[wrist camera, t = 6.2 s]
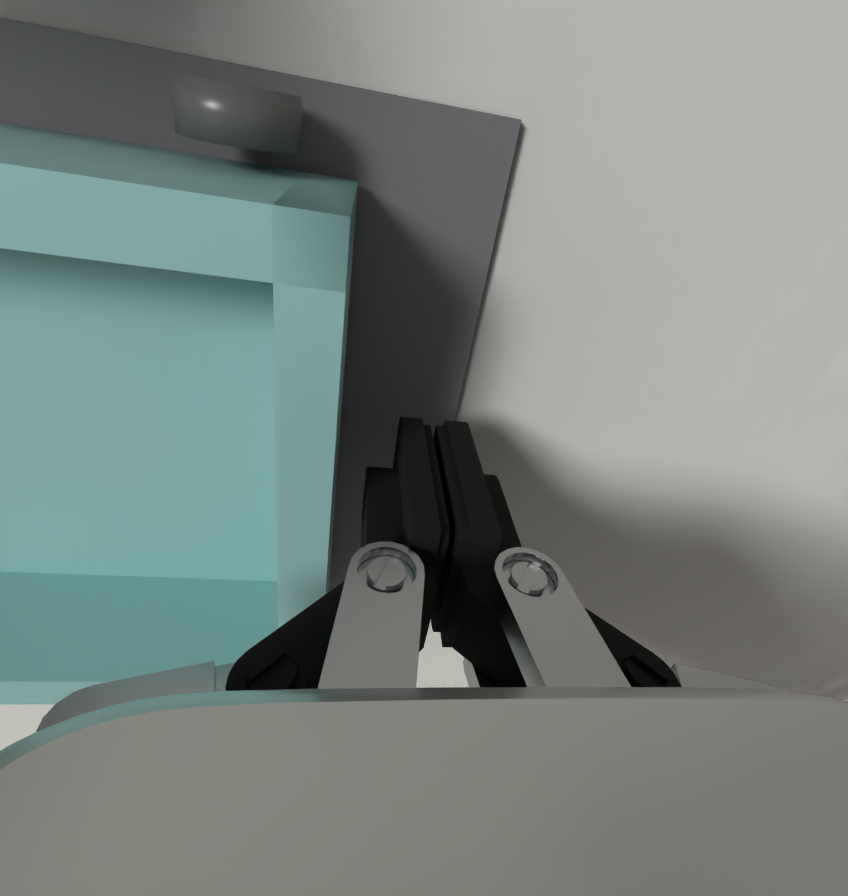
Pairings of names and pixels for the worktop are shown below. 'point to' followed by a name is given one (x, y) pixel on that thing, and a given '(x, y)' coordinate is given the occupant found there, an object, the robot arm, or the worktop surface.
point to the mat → (376, 222)
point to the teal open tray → (165, 392)
